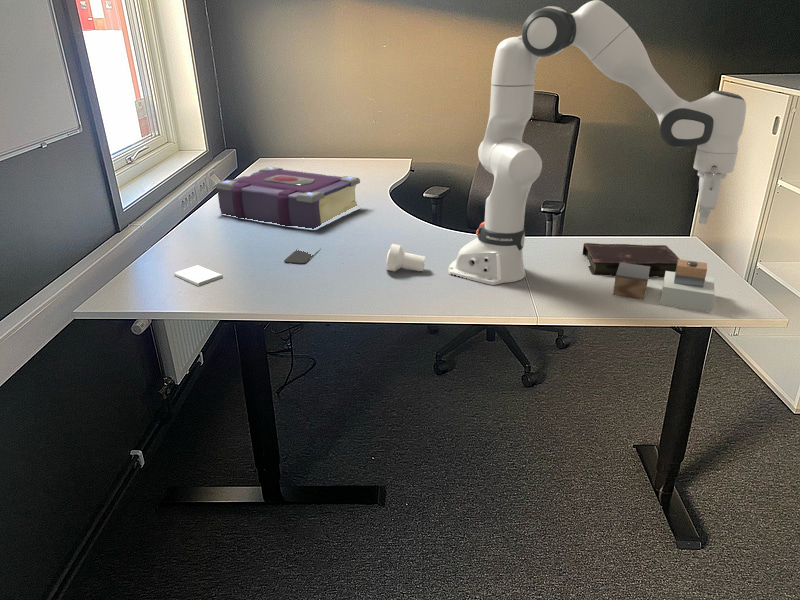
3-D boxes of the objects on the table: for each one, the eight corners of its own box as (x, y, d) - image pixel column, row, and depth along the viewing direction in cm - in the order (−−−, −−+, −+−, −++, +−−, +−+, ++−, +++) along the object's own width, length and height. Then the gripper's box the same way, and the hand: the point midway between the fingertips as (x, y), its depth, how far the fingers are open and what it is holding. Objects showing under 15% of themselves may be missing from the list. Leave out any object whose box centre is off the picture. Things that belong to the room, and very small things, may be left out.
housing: (703, 287, 156) (707, 268, 154) (673, 283, 159) (677, 264, 157) (703, 280, 161) (707, 261, 158) (674, 276, 163) (678, 257, 161)
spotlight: (387, 260, 186) (391, 237, 181) (423, 268, 186) (428, 246, 181) (382, 274, 180) (387, 251, 175) (420, 283, 179) (425, 260, 175)
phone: (321, 247, 200) (305, 263, 186) (322, 249, 200) (305, 265, 187) (300, 245, 201) (282, 261, 188) (300, 248, 202) (282, 263, 188)
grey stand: (659, 304, 159) (663, 286, 157) (662, 287, 169) (665, 270, 167) (710, 312, 155) (714, 294, 153) (709, 294, 165) (713, 277, 162)
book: (312, 233, 214) (309, 194, 208) (216, 216, 234) (211, 180, 228) (361, 209, 241) (360, 174, 235) (271, 196, 260) (268, 163, 254)
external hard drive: (198, 288, 172) (174, 277, 180) (223, 279, 178) (199, 269, 185) (197, 282, 172) (173, 272, 179) (222, 274, 177) (198, 264, 184)
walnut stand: (612, 295, 164) (615, 274, 162) (616, 282, 173) (619, 262, 170) (644, 300, 161) (647, 279, 159) (646, 286, 170) (650, 266, 167)
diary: (581, 256, 194) (583, 241, 192) (663, 258, 192) (665, 243, 189) (592, 277, 177) (594, 261, 175) (681, 280, 175) (684, 264, 173)
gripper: (730, 172, 137) (717, 231, 143) (727, 155, 154) (715, 208, 160) (699, 170, 139) (687, 227, 145) (700, 153, 156) (689, 206, 162)
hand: (702, 217), depth 152 cm, fingers open, 8 cm apart
